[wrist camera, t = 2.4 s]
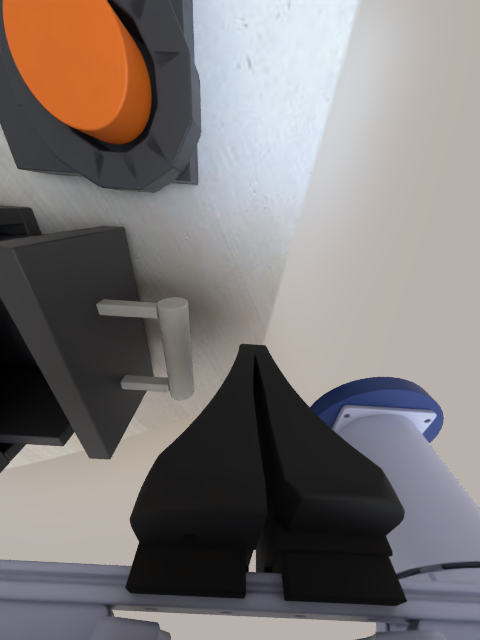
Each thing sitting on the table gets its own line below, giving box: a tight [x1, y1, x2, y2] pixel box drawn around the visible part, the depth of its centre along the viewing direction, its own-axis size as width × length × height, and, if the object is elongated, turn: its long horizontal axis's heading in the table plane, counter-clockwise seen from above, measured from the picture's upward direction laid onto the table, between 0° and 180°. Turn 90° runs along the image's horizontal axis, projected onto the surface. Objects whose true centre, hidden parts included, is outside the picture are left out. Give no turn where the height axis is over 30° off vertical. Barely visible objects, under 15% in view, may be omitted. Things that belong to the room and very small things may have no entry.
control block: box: [0, 0, 201, 192], centre depth 7 cm, size 10×8×4 cm
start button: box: [3, 0, 152, 145], centre depth 6 cm, size 3×3×2 cm
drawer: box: [0, 226, 194, 459], centre depth 11 cm, size 18×11×6 cm, turn 86°
